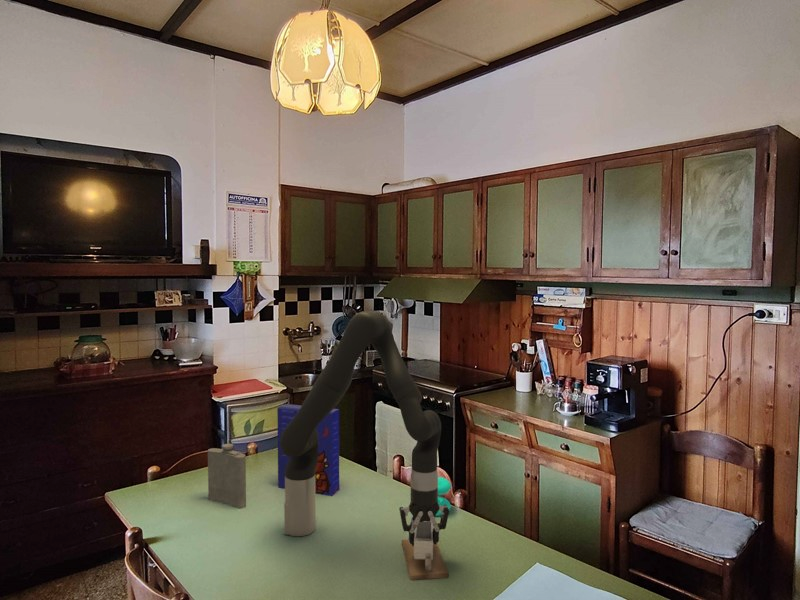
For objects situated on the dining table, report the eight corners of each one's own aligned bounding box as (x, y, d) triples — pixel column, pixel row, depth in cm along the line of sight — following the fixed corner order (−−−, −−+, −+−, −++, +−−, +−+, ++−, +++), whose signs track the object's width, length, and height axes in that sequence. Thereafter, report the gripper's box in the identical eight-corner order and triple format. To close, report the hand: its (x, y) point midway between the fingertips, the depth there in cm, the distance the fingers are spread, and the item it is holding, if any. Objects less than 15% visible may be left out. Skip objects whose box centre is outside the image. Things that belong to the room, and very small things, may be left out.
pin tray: (410, 580, 137) (410, 564, 136) (401, 543, 155) (401, 529, 154) (448, 577, 138) (448, 561, 138) (435, 541, 156) (435, 528, 155)
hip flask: (206, 499, 183) (205, 443, 182) (215, 495, 187) (214, 439, 185) (241, 509, 176) (240, 450, 175) (249, 504, 180) (249, 446, 178)
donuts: (430, 473, 182) (456, 479, 177) (429, 501, 183) (455, 508, 178) (415, 483, 174) (442, 489, 169) (415, 512, 174) (442, 520, 169)
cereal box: (339, 489, 192) (339, 408, 190) (332, 496, 186) (331, 412, 184) (286, 481, 199) (285, 403, 197) (278, 487, 193) (277, 407, 191)
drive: (413, 558, 140) (414, 540, 140) (415, 536, 152) (415, 518, 152) (432, 559, 140) (432, 540, 140) (432, 536, 152) (433, 519, 152)
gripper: (400, 491, 140) (399, 552, 141) (452, 488, 142) (452, 549, 143) (396, 480, 148) (396, 538, 149) (446, 477, 150) (446, 535, 151)
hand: (423, 543), depth 146 cm, fingers closed on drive, 5 cm apart
